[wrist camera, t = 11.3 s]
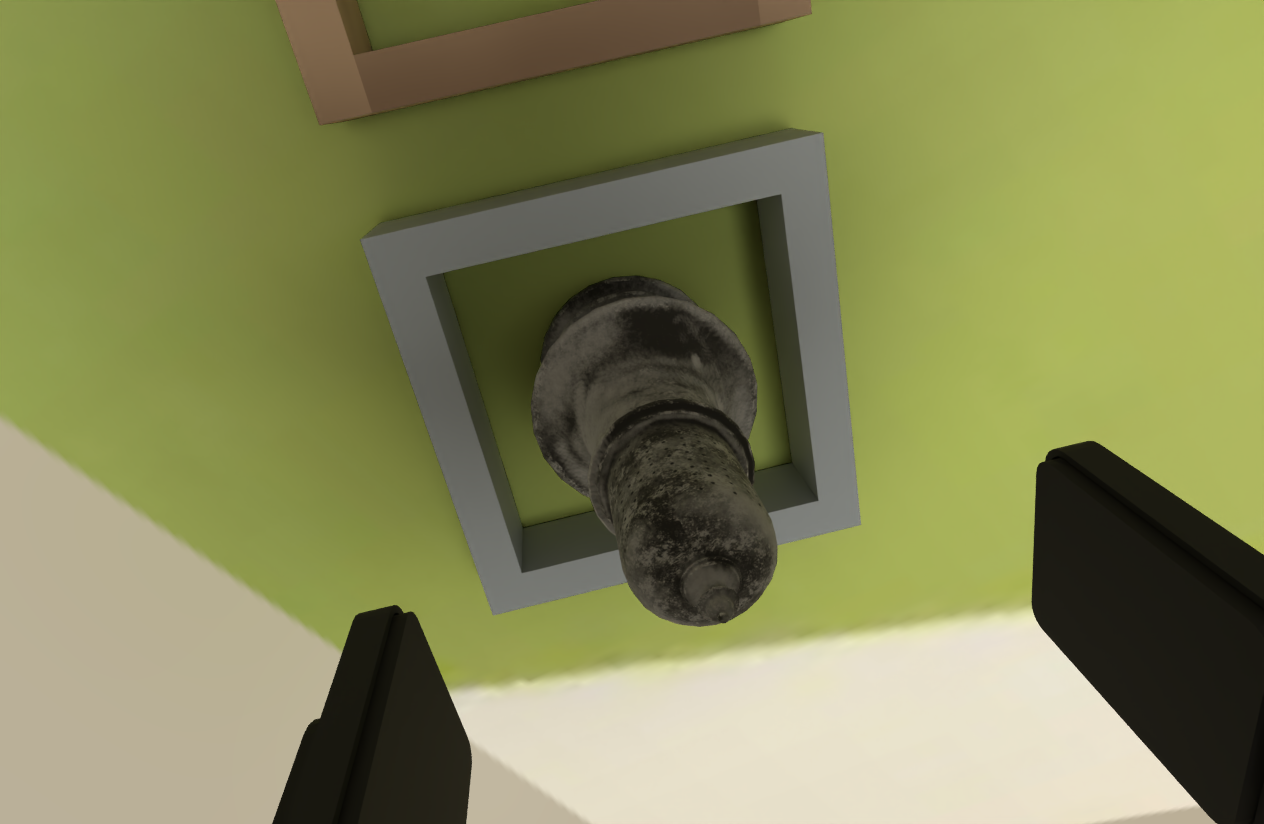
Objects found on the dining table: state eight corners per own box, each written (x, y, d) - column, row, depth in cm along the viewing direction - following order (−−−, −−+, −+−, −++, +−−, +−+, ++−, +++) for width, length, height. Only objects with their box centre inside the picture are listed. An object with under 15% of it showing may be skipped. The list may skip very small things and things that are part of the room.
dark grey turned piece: (585, 480, 24) (633, 809, 13) (493, 322, 22) (458, 562, 11) (753, 400, 24) (948, 669, 13) (678, 229, 21) (839, 379, 10)
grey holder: (379, 222, 20) (360, 239, 18) (790, 128, 20) (823, 132, 18) (496, 566, 25) (493, 615, 23) (831, 485, 25) (860, 524, 23)
